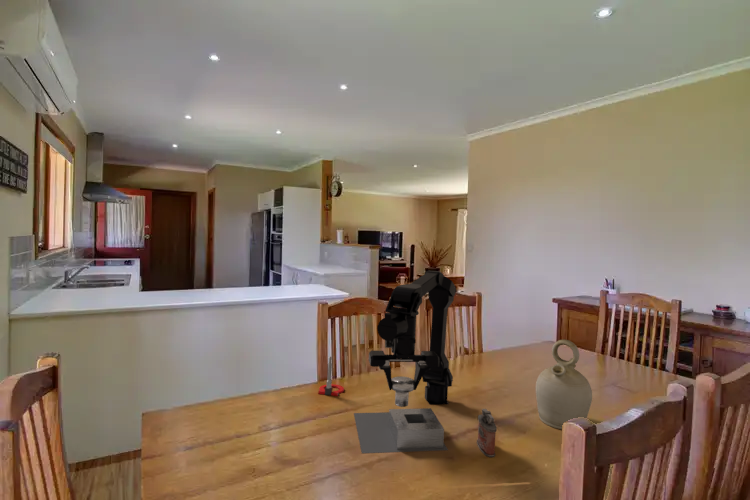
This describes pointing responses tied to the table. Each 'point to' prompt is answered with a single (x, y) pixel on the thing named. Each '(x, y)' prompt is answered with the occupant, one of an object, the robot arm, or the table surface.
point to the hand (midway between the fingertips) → (402, 389)
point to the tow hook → (328, 387)
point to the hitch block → (415, 429)
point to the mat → (379, 434)
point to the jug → (562, 390)
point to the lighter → (486, 433)
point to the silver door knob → (402, 389)
